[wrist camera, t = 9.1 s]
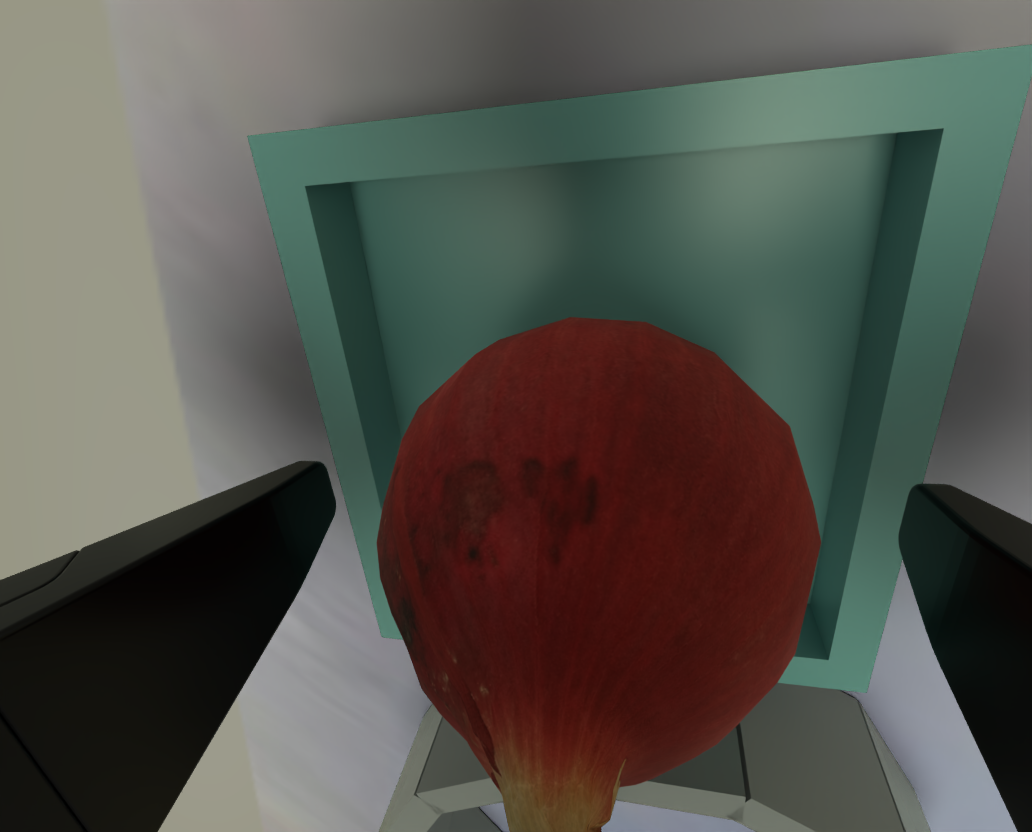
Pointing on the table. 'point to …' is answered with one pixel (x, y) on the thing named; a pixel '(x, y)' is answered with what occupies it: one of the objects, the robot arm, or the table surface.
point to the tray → (670, 272)
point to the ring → (705, 774)
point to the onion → (595, 559)
